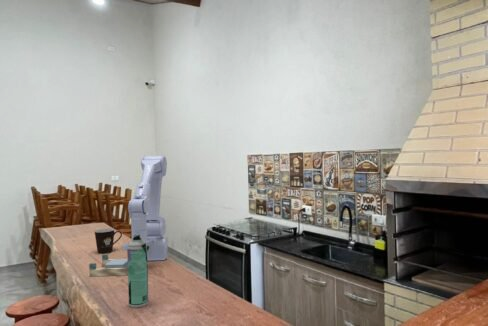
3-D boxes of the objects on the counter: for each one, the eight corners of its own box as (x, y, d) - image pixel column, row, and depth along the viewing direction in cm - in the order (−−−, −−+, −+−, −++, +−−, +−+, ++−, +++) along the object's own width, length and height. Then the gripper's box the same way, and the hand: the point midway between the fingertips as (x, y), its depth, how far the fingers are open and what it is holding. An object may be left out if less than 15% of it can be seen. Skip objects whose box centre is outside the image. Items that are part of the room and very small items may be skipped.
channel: (136, 264, 142) (135, 253, 142) (125, 275, 129) (125, 263, 129) (103, 265, 142) (103, 254, 142) (89, 276, 128) (89, 264, 128)
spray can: (150, 299, 105) (148, 232, 105) (146, 307, 100) (144, 236, 100) (131, 300, 105) (130, 233, 105) (126, 308, 100) (124, 237, 100)
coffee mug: (93, 255, 158) (93, 233, 158) (96, 250, 167) (95, 229, 166) (121, 252, 161) (120, 230, 161) (122, 248, 170) (121, 227, 170)
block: (130, 268, 139) (130, 259, 139) (123, 273, 132) (123, 264, 132) (112, 268, 139) (112, 259, 139) (105, 274, 132) (104, 264, 132)
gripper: (147, 225, 143) (148, 259, 144) (116, 232, 132) (117, 268, 132) (159, 227, 139) (160, 261, 140) (128, 234, 128) (129, 271, 128)
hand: (140, 265), depth 135 cm, fingers closed
